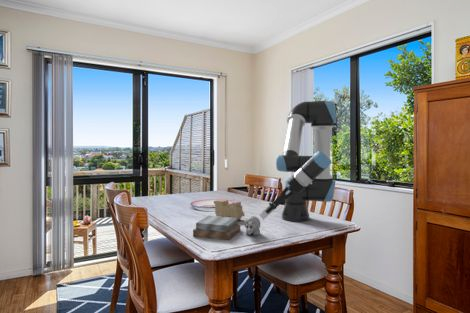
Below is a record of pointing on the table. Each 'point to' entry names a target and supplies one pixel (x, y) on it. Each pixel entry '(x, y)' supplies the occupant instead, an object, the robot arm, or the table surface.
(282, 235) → the table surface
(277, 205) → the robot arm
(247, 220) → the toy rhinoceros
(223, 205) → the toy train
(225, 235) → the brick stand
